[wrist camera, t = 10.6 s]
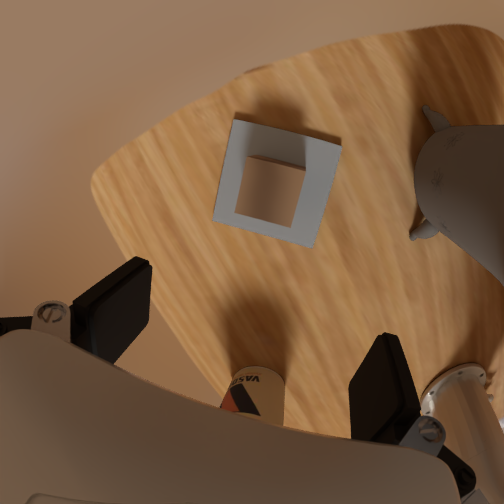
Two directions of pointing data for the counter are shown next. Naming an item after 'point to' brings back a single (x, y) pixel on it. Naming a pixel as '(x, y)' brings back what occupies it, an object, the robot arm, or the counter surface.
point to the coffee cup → (256, 394)
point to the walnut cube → (270, 190)
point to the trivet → (285, 149)
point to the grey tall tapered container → (463, 189)
